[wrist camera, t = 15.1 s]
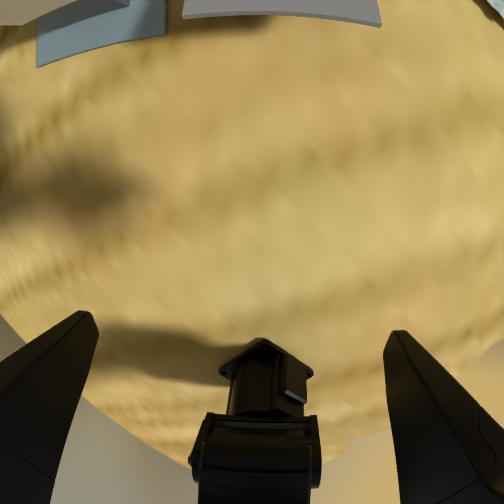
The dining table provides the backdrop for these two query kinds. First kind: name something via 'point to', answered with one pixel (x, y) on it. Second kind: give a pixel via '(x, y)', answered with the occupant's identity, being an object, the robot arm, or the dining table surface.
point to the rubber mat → (102, 30)
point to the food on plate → (498, 6)
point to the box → (54, 11)
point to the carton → (288, 9)
